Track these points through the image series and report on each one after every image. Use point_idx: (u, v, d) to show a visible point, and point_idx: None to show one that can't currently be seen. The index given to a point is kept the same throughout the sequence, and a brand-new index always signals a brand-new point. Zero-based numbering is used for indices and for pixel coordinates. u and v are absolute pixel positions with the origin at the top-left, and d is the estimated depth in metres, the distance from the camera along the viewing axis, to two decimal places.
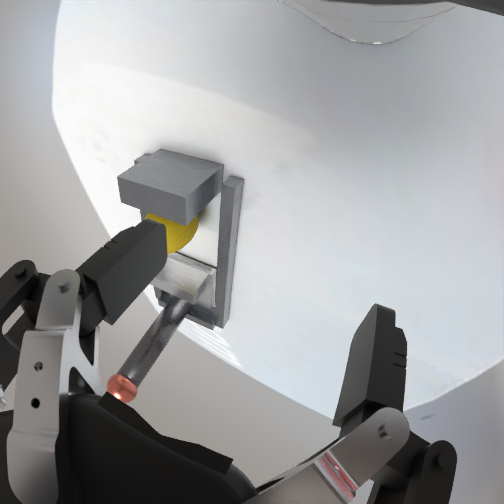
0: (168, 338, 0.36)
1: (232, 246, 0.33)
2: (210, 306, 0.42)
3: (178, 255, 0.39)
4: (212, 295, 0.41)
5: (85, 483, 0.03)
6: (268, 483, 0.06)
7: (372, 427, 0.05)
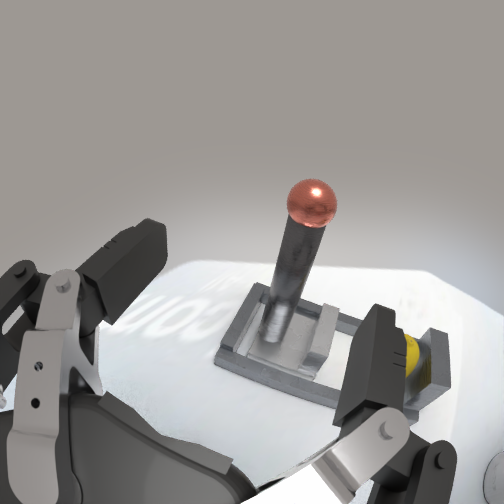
0: (285, 297, 0.27)
1: None
2: (255, 354, 0.31)
3: None
4: (275, 364, 0.30)
5: (85, 483, 0.03)
6: (268, 483, 0.06)
7: (372, 427, 0.05)
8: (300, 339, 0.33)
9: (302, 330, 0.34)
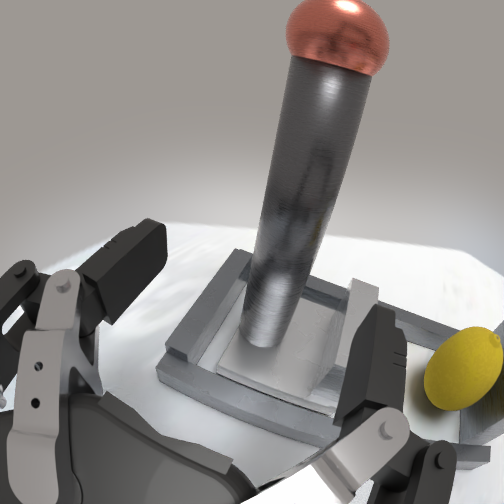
0: (286, 251, 0.13)
1: None
2: (230, 368, 0.17)
3: None
4: (266, 387, 0.16)
5: (85, 483, 0.03)
6: (268, 483, 0.06)
7: (372, 427, 0.05)
8: (311, 341, 0.19)
9: (315, 326, 0.20)
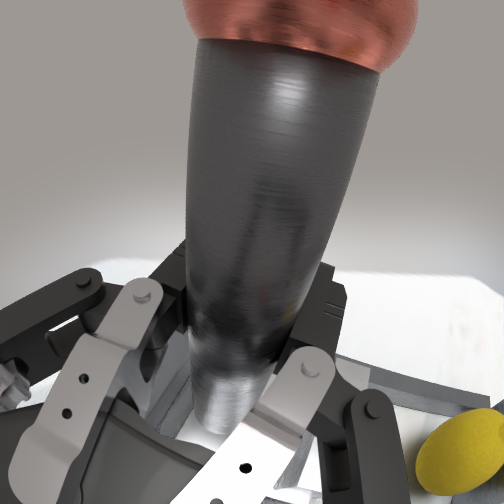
0: (223, 374, 0.08)
1: None
2: None
3: None
4: None
5: (85, 483, 0.03)
6: None
7: (293, 370, 0.06)
8: None
9: None
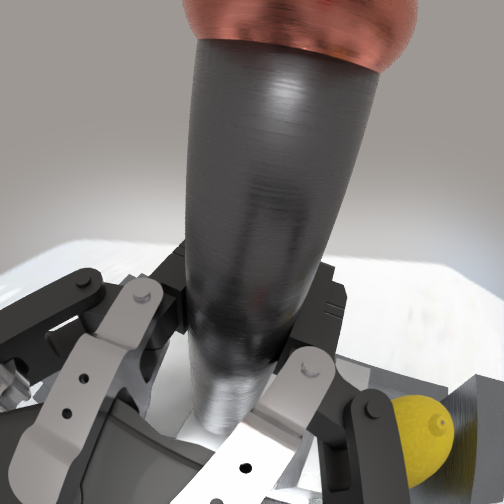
0: (223, 374, 0.08)
1: None
2: None
3: None
4: None
5: (85, 483, 0.03)
6: None
7: (293, 370, 0.06)
8: None
9: None
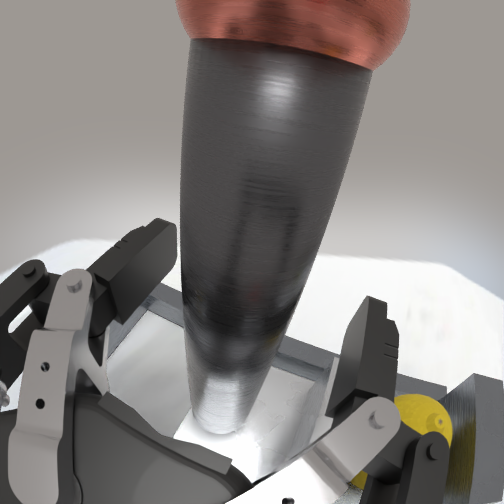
0: (219, 373, 0.08)
1: None
2: None
3: None
4: None
5: (85, 483, 0.03)
6: (262, 478, 0.06)
7: (362, 417, 0.05)
8: (279, 425, 0.14)
9: (286, 405, 0.15)
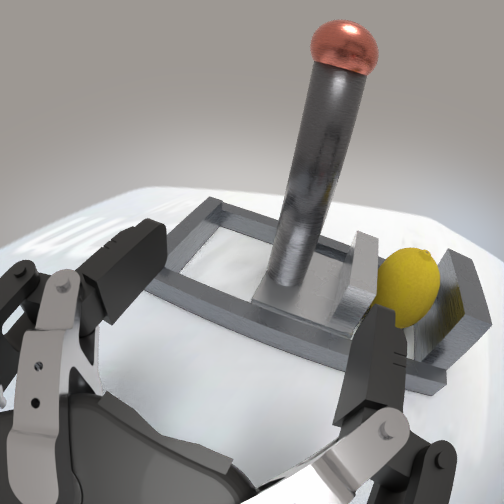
0: (310, 196, 0.18)
1: None
2: (263, 301, 0.21)
3: None
4: (293, 316, 0.21)
5: (85, 483, 0.03)
6: (268, 483, 0.06)
7: (372, 427, 0.05)
8: (326, 283, 0.24)
9: (328, 273, 0.25)
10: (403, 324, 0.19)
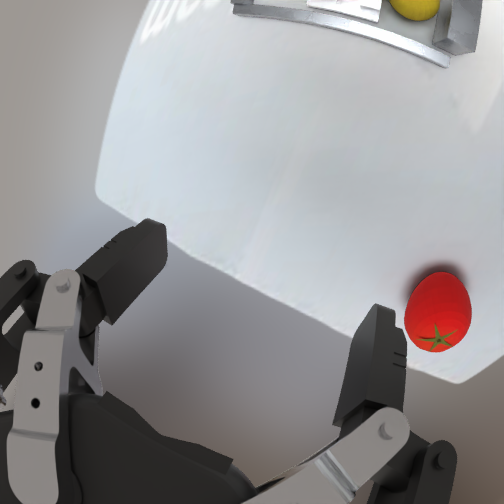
0: None
1: (378, 40, 0.22)
2: (313, 4, 0.22)
3: None
4: (336, 10, 0.22)
5: (85, 483, 0.03)
6: (268, 483, 0.06)
7: (372, 427, 0.05)
8: None
9: None
10: None
